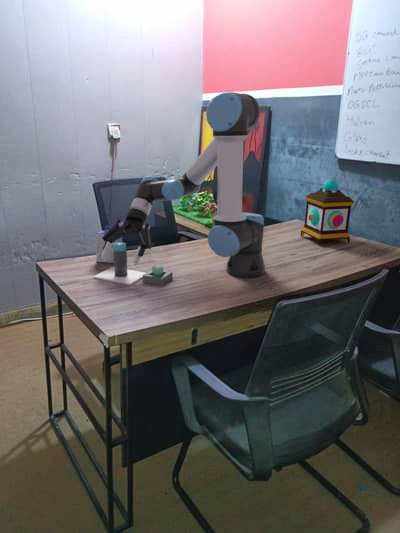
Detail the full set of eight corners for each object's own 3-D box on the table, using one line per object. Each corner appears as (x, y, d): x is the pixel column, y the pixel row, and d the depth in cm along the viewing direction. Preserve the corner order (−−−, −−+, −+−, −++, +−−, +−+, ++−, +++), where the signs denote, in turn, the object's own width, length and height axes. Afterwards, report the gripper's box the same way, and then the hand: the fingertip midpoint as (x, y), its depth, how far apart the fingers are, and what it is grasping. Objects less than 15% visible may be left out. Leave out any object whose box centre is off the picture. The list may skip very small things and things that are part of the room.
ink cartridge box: (124, 259, 180) (122, 226, 175) (119, 264, 175) (117, 229, 170) (101, 257, 182) (99, 224, 177) (96, 262, 177) (94, 227, 172)
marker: (130, 273, 163) (128, 243, 159) (122, 277, 159) (121, 246, 155) (119, 271, 165) (117, 241, 161) (112, 275, 161) (110, 244, 157)
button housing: (172, 278, 161) (172, 271, 161) (162, 285, 154) (162, 278, 154) (153, 274, 164) (153, 268, 164) (142, 281, 158) (142, 275, 157)
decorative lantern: (296, 236, 221) (302, 176, 211) (329, 233, 227) (337, 175, 217) (317, 247, 203) (325, 183, 193) (353, 244, 209) (362, 181, 199)
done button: (165, 274, 160) (165, 266, 159) (159, 277, 156) (159, 269, 155) (155, 272, 161) (155, 264, 160) (150, 275, 158) (150, 267, 157)
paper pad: (147, 274, 164) (147, 273, 164) (130, 285, 154) (130, 283, 154) (112, 268, 170) (112, 266, 170) (93, 277, 160) (93, 276, 160)
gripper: (170, 221, 165) (152, 270, 157) (115, 214, 175) (95, 260, 167) (164, 210, 159) (144, 261, 151) (107, 204, 168) (85, 251, 160)
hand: (118, 261), depth 159 cm, fingers open, 13 cm apart
